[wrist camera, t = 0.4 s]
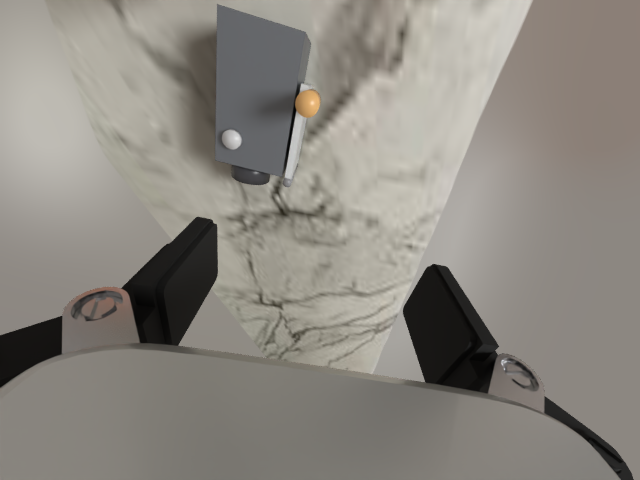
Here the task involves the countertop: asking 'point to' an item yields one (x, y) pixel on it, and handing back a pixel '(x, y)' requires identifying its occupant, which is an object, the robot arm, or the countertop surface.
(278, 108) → the block
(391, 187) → the countertop surface
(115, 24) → the countertop surface
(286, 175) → the grey blade tan handle
